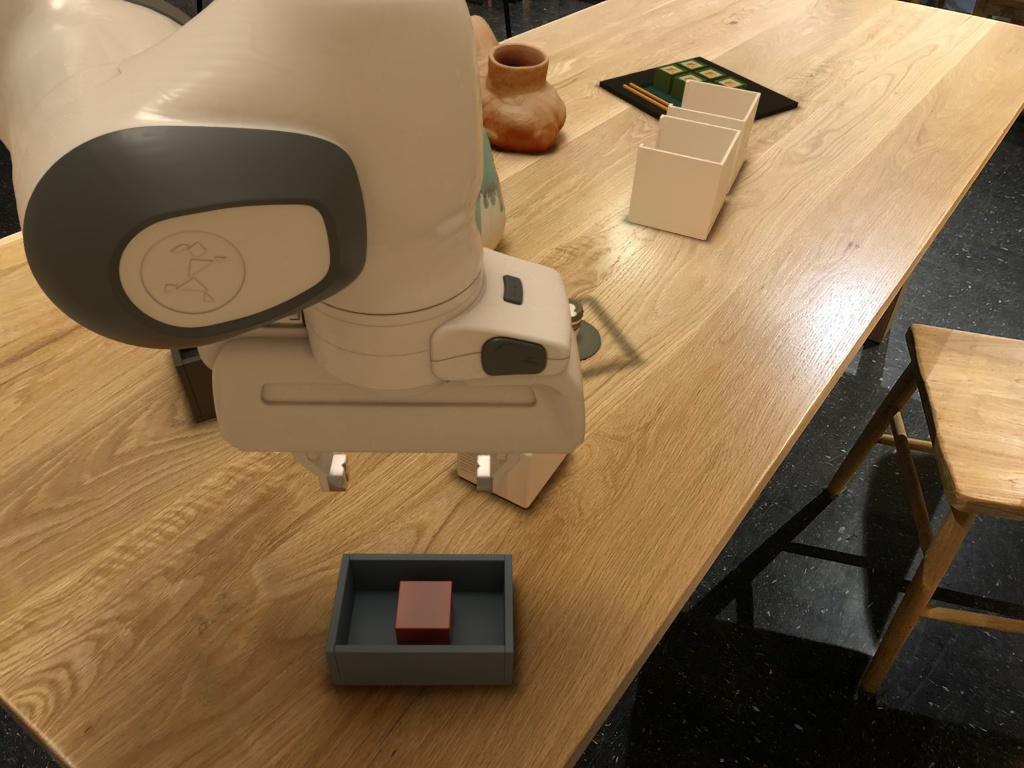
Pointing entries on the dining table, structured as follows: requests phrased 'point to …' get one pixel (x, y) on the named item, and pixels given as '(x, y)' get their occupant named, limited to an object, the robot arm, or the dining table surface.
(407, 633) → the block
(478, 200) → the vase
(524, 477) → the container
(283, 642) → the dining table surface
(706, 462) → the dining table surface
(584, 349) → the coffee cup
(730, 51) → the dining table surface
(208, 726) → the dining table surface
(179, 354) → the basket
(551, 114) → the ceramic vessel
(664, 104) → the sushi
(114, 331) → the robot arm
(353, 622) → the box
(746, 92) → the storage container
